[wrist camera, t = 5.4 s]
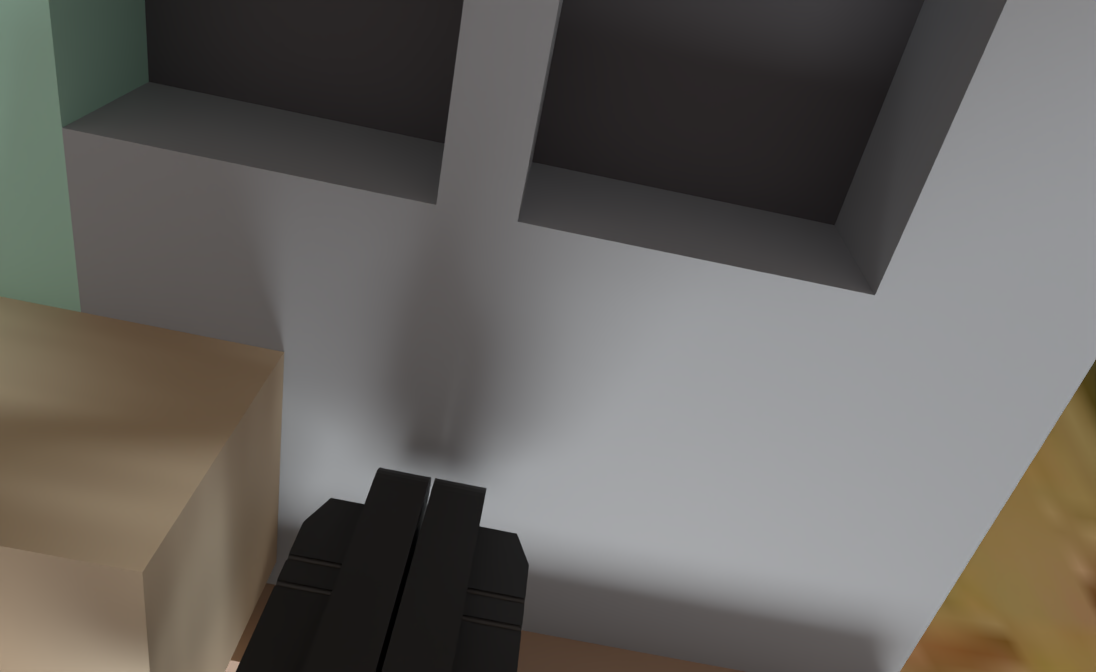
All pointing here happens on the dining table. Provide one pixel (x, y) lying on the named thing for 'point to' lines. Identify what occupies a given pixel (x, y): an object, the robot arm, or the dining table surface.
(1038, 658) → the dining table surface
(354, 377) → the trap box
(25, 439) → the birch block
